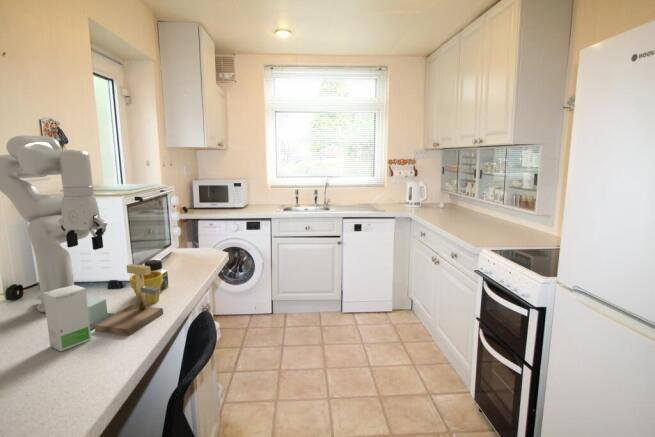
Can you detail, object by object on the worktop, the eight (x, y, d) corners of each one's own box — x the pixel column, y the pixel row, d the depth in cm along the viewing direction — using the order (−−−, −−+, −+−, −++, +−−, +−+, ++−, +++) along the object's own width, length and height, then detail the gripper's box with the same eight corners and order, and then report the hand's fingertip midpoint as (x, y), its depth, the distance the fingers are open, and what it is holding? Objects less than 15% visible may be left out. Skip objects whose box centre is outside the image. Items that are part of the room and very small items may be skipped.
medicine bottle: (160, 293, 139) (157, 263, 137) (142, 293, 140) (138, 263, 137) (169, 286, 146) (166, 257, 144) (151, 286, 147) (148, 257, 144)
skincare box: (60, 352, 99) (51, 297, 96) (48, 346, 102) (40, 292, 99) (93, 339, 106) (86, 287, 103) (81, 333, 109) (74, 283, 106)
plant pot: (151, 308, 126) (148, 281, 124) (125, 306, 128) (122, 279, 127) (170, 296, 136) (168, 271, 134) (146, 294, 138) (143, 269, 137)
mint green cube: (76, 323, 114) (73, 305, 113) (92, 315, 120) (90, 297, 119) (92, 325, 113) (89, 306, 112) (107, 316, 119) (105, 299, 118)
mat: (65, 328, 112) (65, 326, 112) (95, 313, 123) (95, 311, 123) (89, 331, 110) (89, 329, 110) (118, 315, 121) (118, 314, 121)
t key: (155, 312, 117) (151, 269, 115) (130, 307, 121) (125, 265, 119) (161, 309, 119) (157, 267, 117) (136, 304, 124) (132, 263, 121)
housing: (95, 331, 110) (94, 325, 110) (132, 310, 125) (131, 304, 124) (129, 335, 108) (128, 329, 107) (163, 313, 122) (162, 308, 122)
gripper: (44, 192, 109) (51, 248, 112) (91, 194, 105) (97, 253, 108) (67, 190, 116) (74, 242, 119) (112, 191, 112) (118, 246, 115)
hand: (85, 247), depth 114 cm, fingers open, 9 cm apart
